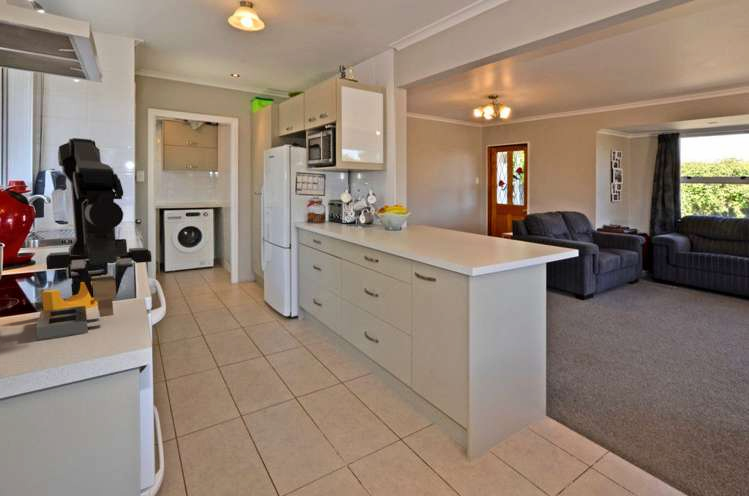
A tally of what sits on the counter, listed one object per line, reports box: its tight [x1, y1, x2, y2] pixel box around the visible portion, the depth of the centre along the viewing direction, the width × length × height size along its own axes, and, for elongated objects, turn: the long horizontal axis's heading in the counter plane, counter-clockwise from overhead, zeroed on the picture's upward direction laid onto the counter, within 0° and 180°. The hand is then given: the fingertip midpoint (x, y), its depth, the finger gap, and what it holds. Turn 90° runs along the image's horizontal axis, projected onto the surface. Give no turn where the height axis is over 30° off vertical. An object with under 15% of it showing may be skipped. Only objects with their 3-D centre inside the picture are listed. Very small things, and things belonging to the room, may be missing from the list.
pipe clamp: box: [41, 281, 98, 311], centre depth 97 cm, size 12×4×6 cm, turn 171°
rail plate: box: [35, 306, 89, 341], centre depth 86 cm, size 14×8×2 cm, turn 37°
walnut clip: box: [91, 274, 118, 318], centre depth 90 cm, size 8×4×8 cm, turn 37°
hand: (104, 296), depth 90 cm, fingers closed on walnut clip, 4 cm apart
